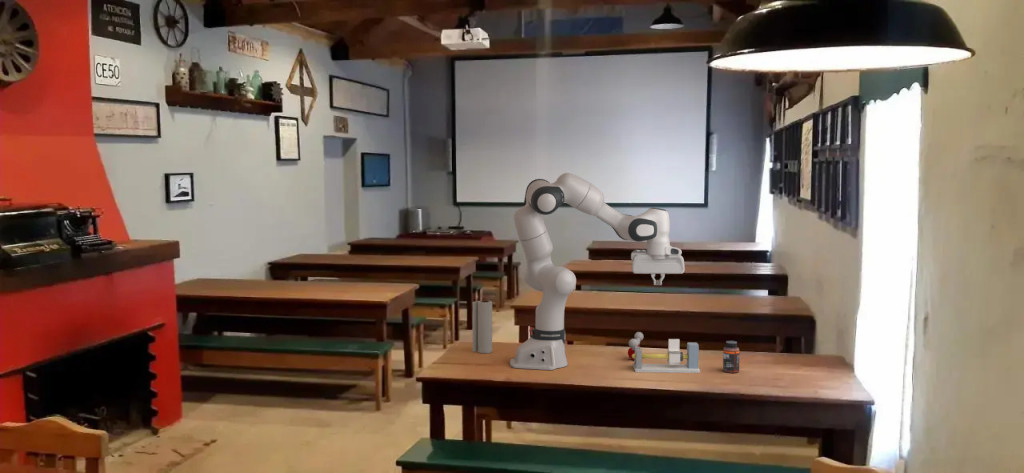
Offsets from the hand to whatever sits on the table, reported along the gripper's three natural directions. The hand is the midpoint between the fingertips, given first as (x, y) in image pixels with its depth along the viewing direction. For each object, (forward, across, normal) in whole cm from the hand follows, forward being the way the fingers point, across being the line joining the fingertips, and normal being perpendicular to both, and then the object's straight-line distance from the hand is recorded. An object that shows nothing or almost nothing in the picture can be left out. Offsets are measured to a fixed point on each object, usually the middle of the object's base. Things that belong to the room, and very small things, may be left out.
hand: (657, 284), depth 307 cm
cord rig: (+31, +2, -10) cm, 32 cm away
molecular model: (+31, -8, +5) cm, 32 cm away
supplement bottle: (+31, +26, -12) cm, 42 cm away
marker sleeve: (+28, +5, -10) cm, 31 cm away
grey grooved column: (+31, -69, +15) cm, 77 cm away
